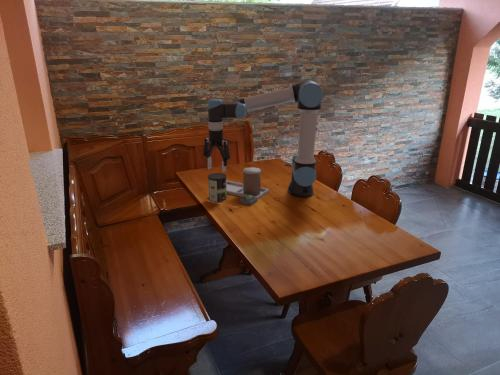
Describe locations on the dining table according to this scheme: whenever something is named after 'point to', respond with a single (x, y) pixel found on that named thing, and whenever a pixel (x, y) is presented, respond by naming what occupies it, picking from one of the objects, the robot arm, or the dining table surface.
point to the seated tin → (251, 181)
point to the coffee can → (217, 187)
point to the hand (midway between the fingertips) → (216, 170)
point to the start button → (248, 197)
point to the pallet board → (241, 189)
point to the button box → (248, 201)
